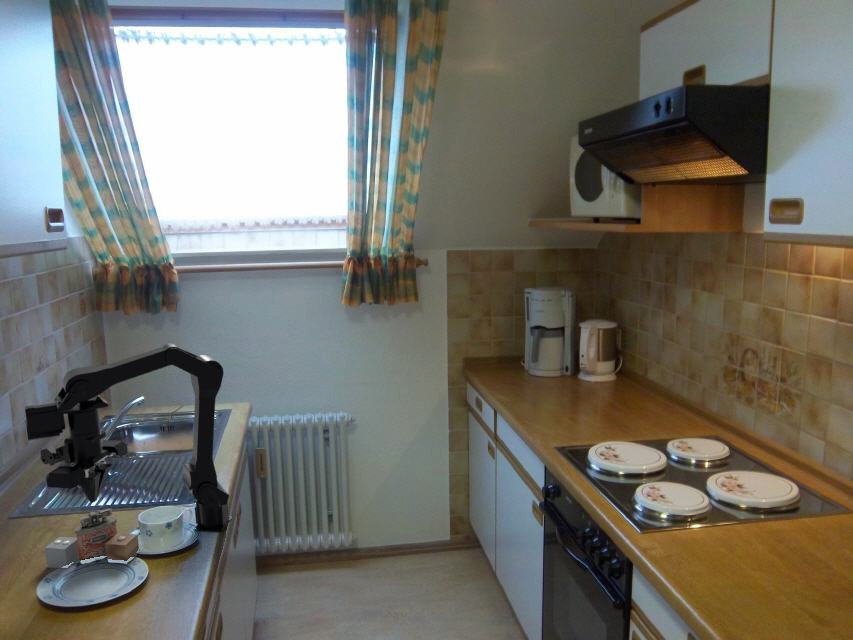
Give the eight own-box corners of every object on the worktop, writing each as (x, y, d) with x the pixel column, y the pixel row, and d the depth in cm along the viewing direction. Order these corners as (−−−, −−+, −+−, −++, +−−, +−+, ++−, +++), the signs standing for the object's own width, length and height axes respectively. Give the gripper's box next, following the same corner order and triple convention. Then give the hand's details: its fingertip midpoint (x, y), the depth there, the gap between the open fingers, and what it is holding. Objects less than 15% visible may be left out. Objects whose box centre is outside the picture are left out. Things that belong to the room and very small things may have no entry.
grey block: (81, 557, 144) (78, 537, 143) (67, 569, 140) (64, 548, 139) (62, 556, 145) (59, 535, 144) (47, 567, 140) (44, 546, 140)
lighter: (81, 566, 140) (75, 521, 139) (77, 559, 143) (71, 515, 141) (122, 552, 146) (117, 509, 144) (117, 546, 148) (112, 504, 146)
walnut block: (139, 553, 145) (137, 533, 144) (127, 565, 141) (125, 544, 140) (120, 552, 146) (118, 532, 145) (107, 563, 142) (105, 542, 141)
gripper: (78, 414, 149) (86, 480, 152) (16, 445, 131) (26, 520, 134) (125, 416, 148) (132, 483, 150) (68, 448, 129) (77, 523, 132)
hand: (93, 501), depth 142 cm, fingers closed
